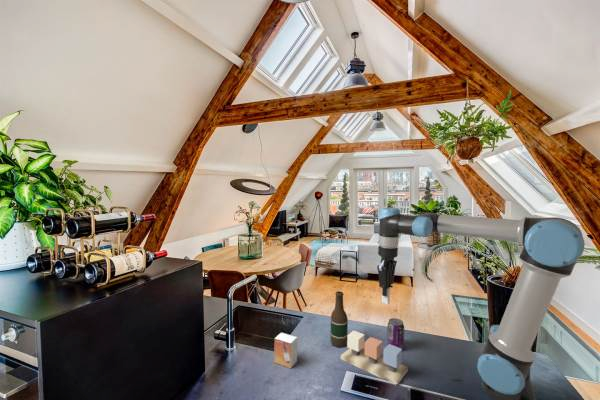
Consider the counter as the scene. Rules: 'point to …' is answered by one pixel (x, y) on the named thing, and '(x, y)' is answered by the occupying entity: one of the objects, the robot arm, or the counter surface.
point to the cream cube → (355, 341)
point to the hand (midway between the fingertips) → (385, 302)
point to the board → (374, 365)
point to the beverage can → (395, 333)
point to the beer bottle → (339, 323)
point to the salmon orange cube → (373, 348)
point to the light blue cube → (392, 356)
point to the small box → (285, 350)
